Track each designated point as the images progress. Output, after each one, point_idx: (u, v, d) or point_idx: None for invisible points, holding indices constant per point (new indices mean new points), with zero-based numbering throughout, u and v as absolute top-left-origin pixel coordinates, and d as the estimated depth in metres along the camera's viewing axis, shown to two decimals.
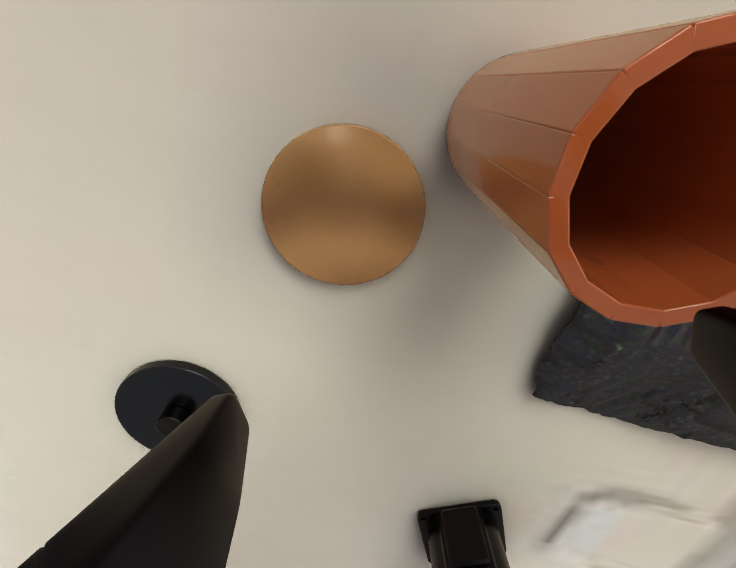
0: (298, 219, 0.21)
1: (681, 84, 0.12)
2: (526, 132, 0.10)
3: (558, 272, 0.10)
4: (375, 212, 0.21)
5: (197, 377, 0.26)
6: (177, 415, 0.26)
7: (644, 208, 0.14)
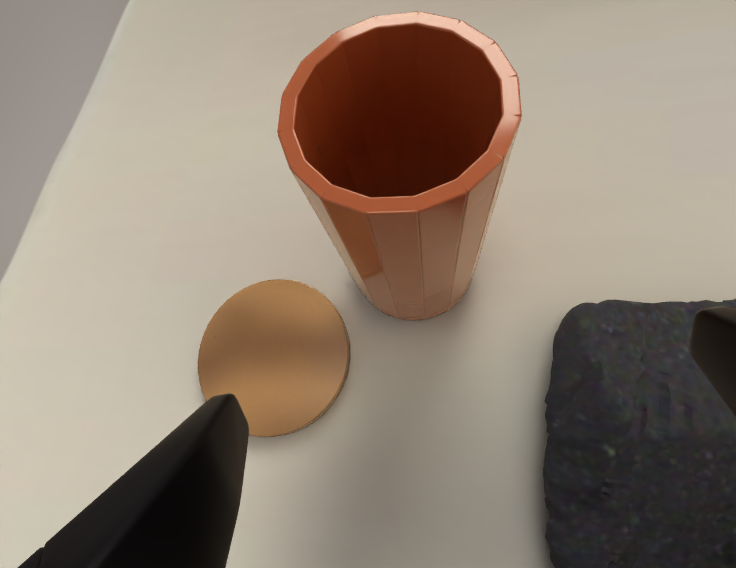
0: (229, 367, 0.22)
1: (445, 134, 0.16)
2: None
3: (305, 183, 0.11)
4: (300, 349, 0.22)
5: None
6: None
7: None
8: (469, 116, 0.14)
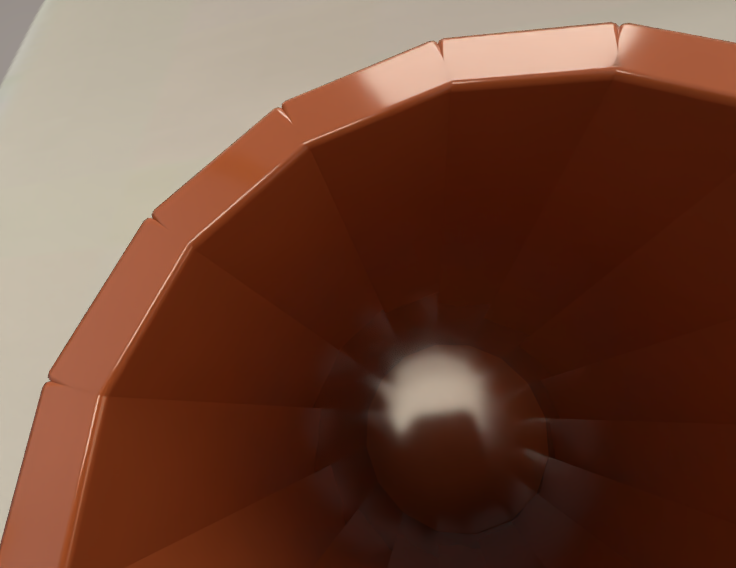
0: None
1: (567, 304, 0.07)
2: None
3: None
4: None
5: None
6: None
7: (655, 556, 0.06)
8: (687, 322, 0.05)
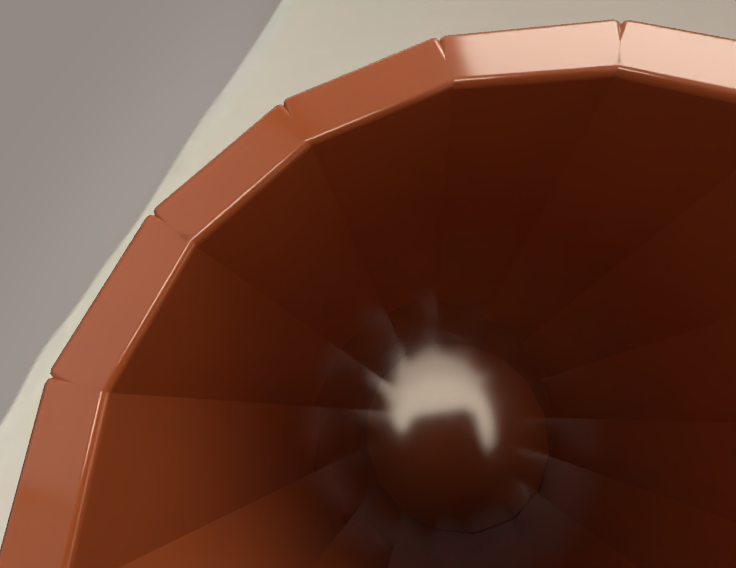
0: None
1: (568, 303, 0.07)
2: None
3: None
4: None
5: None
6: None
7: (656, 554, 0.06)
8: (688, 320, 0.05)
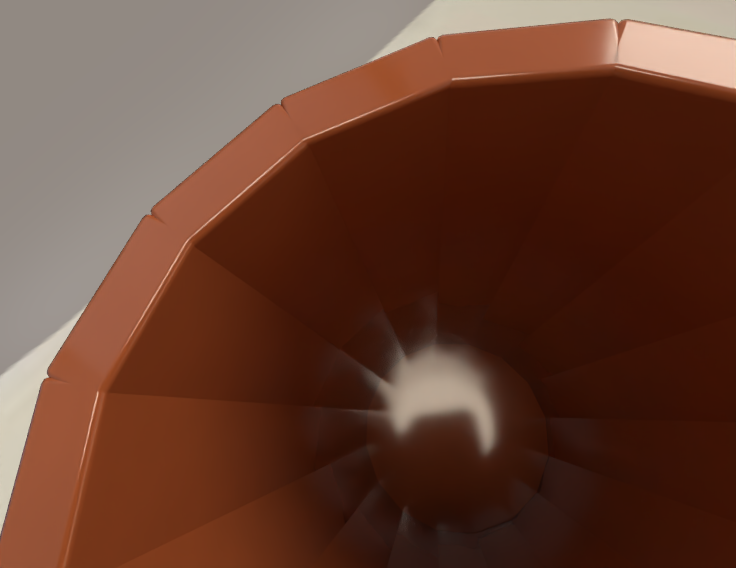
0: None
1: (567, 302, 0.07)
2: None
3: None
4: None
5: None
6: None
7: (655, 554, 0.06)
8: (687, 320, 0.05)
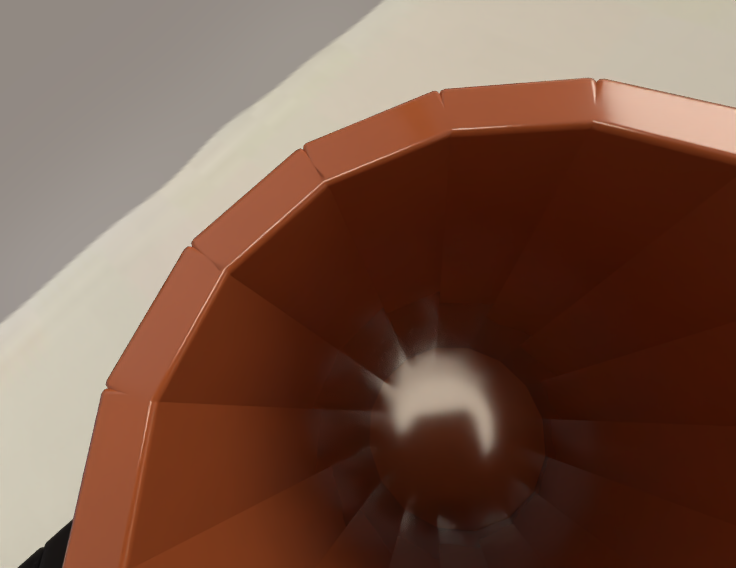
0: None
1: (560, 312, 0.07)
2: None
3: None
4: None
5: None
6: None
7: (641, 547, 0.06)
8: (667, 332, 0.05)
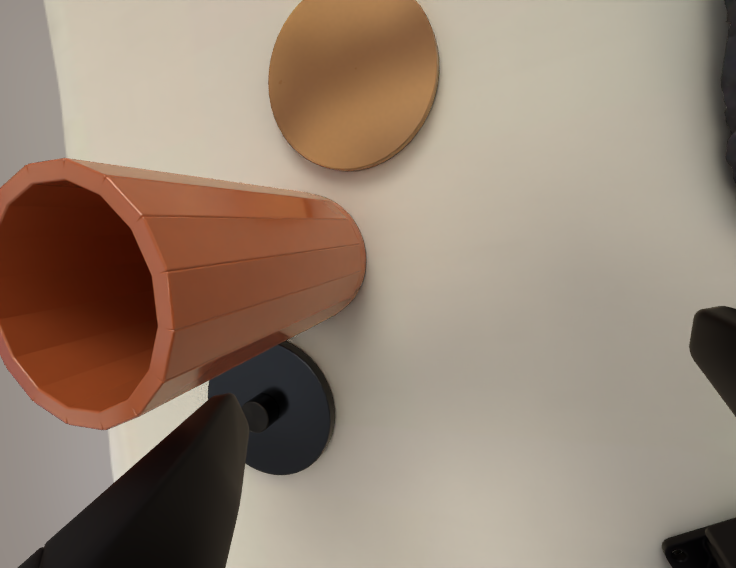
0: (307, 109, 0.20)
1: None
2: None
3: (86, 426, 0.10)
4: (377, 57, 0.18)
5: None
6: (259, 400, 0.22)
7: None
8: None
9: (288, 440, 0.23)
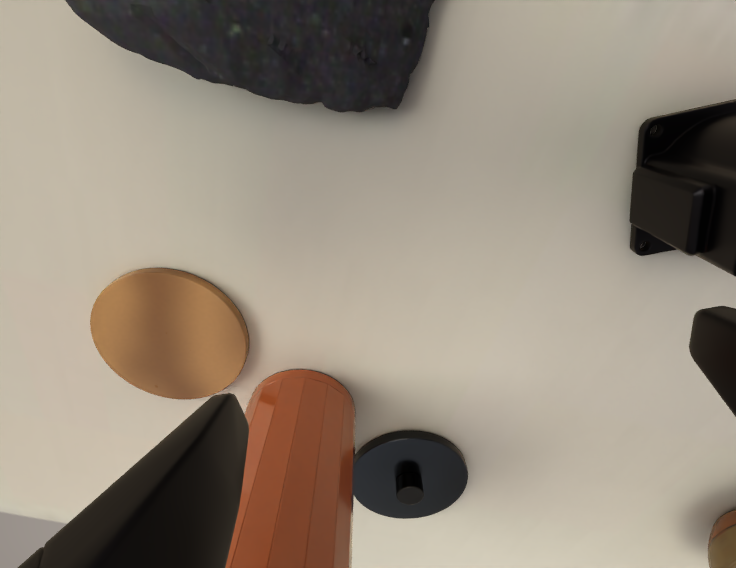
0: (185, 375, 0.24)
1: None
2: None
3: None
4: (163, 315, 0.22)
5: (361, 461, 0.27)
6: (399, 486, 0.27)
7: None
8: None
9: (440, 474, 0.27)
